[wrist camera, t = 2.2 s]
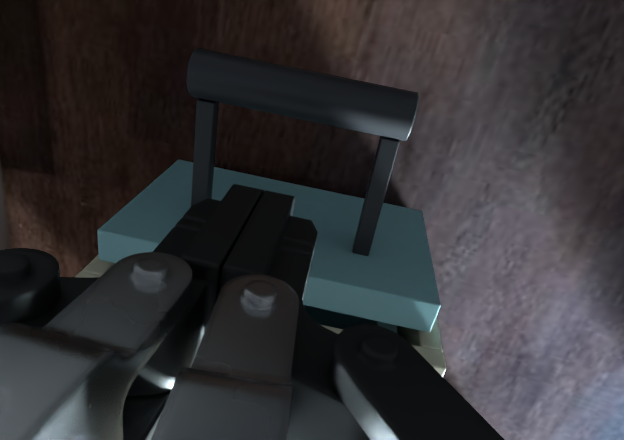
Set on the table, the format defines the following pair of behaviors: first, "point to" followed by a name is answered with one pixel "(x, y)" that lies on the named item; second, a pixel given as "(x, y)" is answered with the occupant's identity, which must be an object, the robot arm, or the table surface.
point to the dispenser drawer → (303, 192)
